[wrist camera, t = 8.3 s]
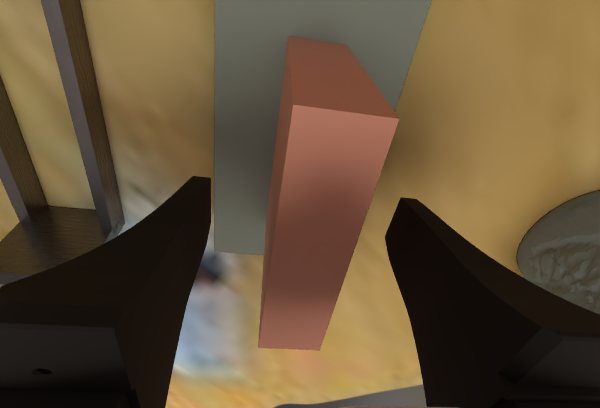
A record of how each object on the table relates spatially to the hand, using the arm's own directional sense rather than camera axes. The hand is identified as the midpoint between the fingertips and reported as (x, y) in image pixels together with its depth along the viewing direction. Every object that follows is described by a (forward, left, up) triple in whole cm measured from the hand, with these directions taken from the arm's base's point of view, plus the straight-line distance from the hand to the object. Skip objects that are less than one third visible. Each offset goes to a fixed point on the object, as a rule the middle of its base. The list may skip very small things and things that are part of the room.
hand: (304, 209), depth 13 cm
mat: (0, 0, -6) cm, 6 cm away
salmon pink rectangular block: (0, 0, -5) cm, 5 cm away
